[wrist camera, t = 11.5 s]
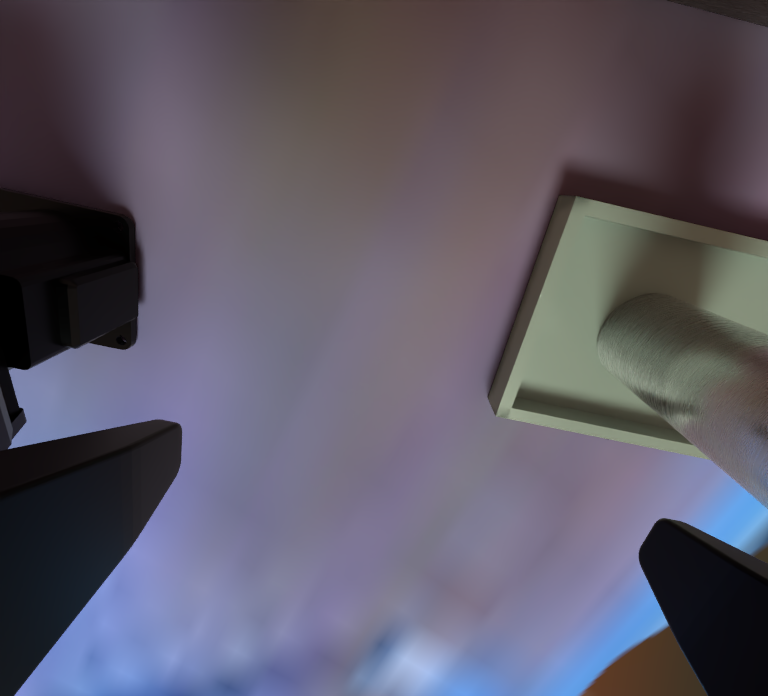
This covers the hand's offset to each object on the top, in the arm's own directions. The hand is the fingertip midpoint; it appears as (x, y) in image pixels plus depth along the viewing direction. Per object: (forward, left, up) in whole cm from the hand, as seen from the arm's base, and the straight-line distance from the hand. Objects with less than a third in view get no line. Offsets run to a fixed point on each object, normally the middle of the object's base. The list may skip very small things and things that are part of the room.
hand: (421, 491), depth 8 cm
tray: (+12, +1, -13) cm, 18 cm away
